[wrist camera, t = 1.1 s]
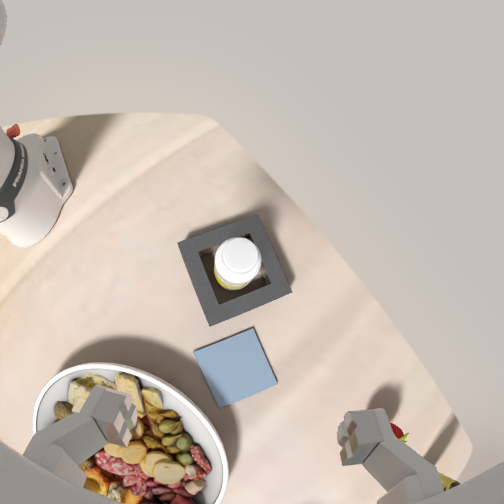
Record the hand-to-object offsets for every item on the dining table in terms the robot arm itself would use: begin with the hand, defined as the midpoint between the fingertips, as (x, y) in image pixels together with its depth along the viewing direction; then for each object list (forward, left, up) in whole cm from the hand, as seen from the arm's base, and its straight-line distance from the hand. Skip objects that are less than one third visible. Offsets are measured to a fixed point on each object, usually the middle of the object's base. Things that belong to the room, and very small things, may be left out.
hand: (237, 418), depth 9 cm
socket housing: (-9, +7, -30) cm, 32 cm away
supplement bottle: (-9, +7, -30) cm, 32 cm away
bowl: (+11, -19, -30) cm, 37 cm away
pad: (+4, +2, -30) cm, 30 cm away
